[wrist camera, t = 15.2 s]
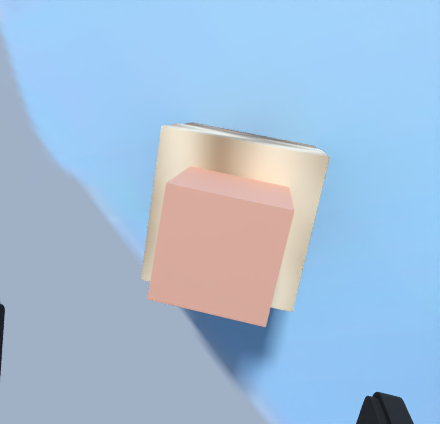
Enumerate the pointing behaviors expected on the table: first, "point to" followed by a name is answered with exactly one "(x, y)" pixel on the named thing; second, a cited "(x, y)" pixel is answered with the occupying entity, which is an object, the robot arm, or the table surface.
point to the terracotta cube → (221, 244)
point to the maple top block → (248, 168)
